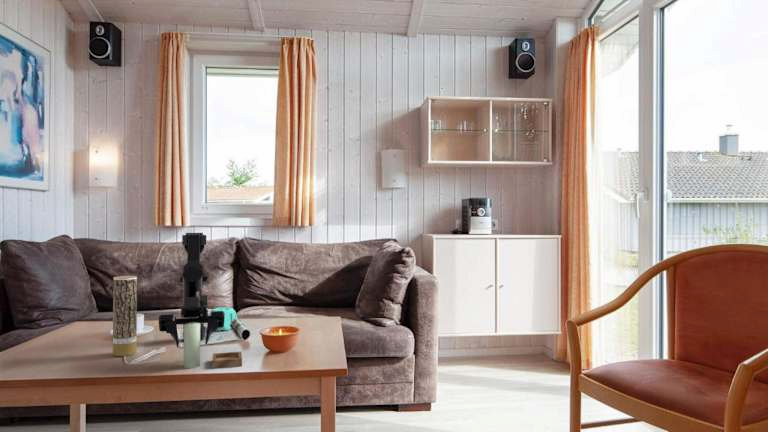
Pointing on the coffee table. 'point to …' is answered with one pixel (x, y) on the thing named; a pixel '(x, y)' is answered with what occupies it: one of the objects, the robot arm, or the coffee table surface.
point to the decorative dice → (226, 317)
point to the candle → (191, 345)
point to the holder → (227, 359)
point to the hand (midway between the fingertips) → (192, 344)
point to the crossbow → (146, 357)
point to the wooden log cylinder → (124, 315)
